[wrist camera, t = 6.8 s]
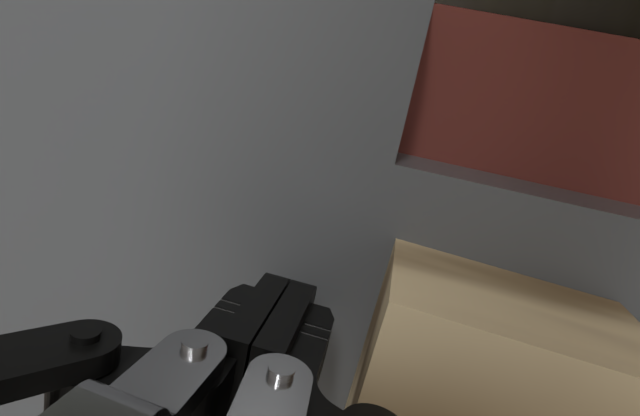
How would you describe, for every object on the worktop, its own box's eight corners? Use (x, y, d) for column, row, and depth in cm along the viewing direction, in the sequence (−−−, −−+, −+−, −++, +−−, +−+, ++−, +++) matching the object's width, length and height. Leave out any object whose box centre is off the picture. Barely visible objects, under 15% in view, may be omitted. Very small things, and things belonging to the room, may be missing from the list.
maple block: (396, 238, 13) (389, 301, 9) (620, 302, 12) (719, 402, 8) (343, 411, 14) (318, 527, 10) (536, 477, 13) (584, 628, 10)
